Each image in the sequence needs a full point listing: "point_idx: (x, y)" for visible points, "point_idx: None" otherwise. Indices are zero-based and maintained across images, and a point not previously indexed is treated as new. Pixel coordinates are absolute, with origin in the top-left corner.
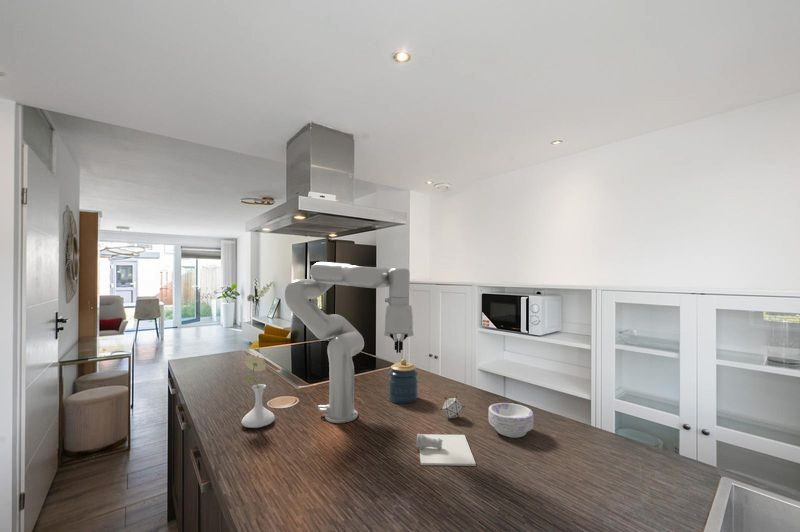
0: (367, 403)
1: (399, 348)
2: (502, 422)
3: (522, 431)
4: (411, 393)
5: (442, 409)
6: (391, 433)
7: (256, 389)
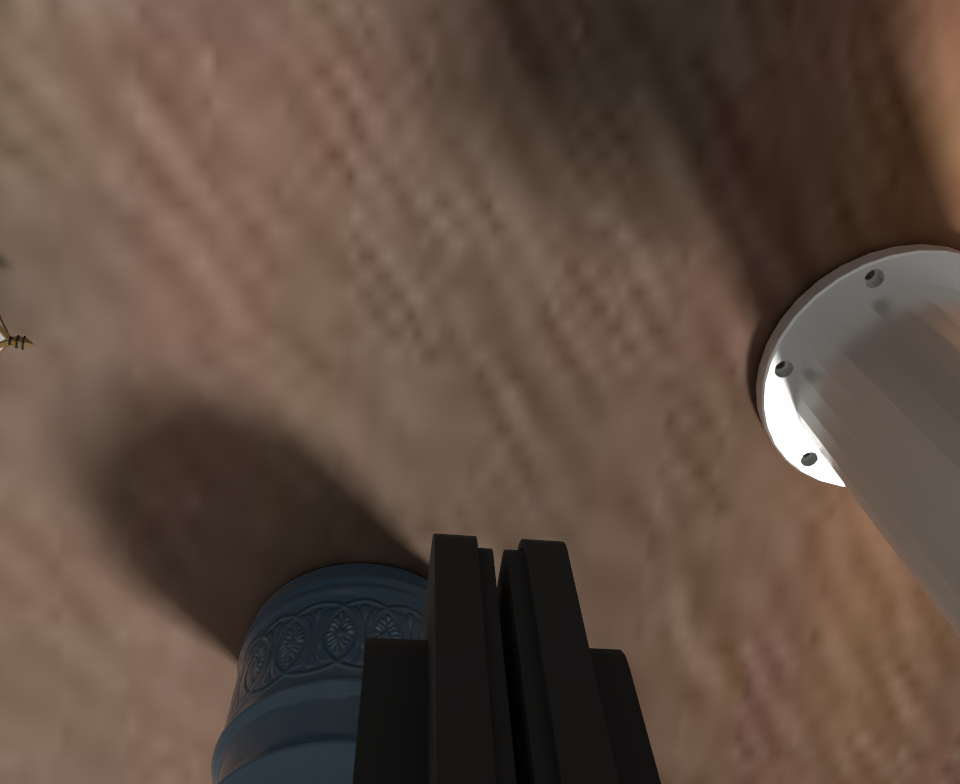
0: (646, 580)
1: (479, 617)
2: None
3: None
4: (289, 628)
5: (5, 332)
6: (516, 18)
7: None
